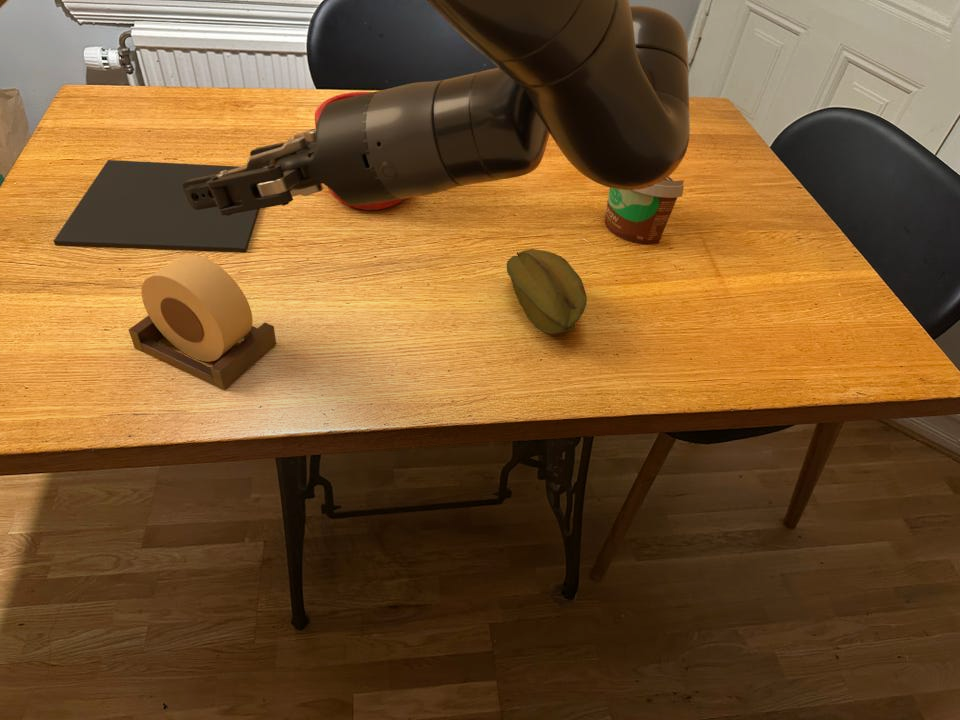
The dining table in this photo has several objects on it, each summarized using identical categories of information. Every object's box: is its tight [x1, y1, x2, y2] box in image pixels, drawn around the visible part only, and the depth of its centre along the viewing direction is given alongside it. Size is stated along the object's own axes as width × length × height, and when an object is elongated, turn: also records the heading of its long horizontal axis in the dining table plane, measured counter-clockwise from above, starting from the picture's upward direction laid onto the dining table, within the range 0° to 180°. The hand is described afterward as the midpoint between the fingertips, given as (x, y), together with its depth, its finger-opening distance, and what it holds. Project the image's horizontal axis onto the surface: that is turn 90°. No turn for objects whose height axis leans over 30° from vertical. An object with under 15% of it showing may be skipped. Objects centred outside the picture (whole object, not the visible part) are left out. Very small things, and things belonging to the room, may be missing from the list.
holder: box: [128, 314, 277, 391], centre depth 71 cm, size 8×12×2 cm
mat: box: [53, 159, 260, 253], centre depth 91 cm, size 22×20×1 cm
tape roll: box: [141, 253, 254, 363], centre depth 69 cm, size 4×10×10 cm, turn 64°
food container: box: [604, 175, 685, 245], centre depth 93 cm, size 12×6×10 cm, turn 25°
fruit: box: [506, 248, 588, 335], centre depth 79 cm, size 11×12×7 cm
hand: (224, 178), depth 56 cm, fingers open, 8 cm apart
